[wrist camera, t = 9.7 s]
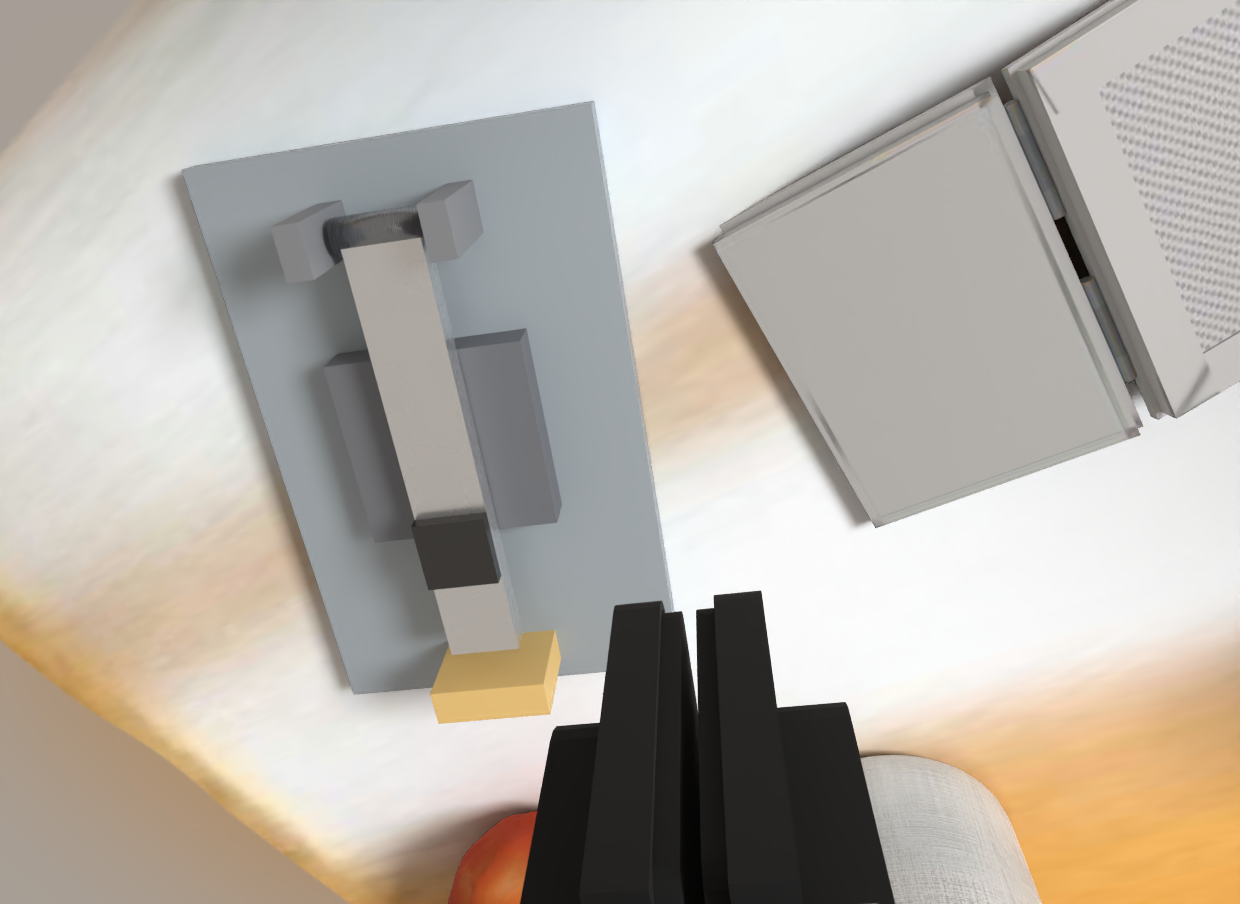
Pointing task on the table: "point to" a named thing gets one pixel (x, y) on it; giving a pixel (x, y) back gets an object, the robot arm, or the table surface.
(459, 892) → the tomato
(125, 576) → the table surface
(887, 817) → the planter
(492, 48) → the table surface
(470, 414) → the clamp bar
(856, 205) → the gadget
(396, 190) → the clamp base
